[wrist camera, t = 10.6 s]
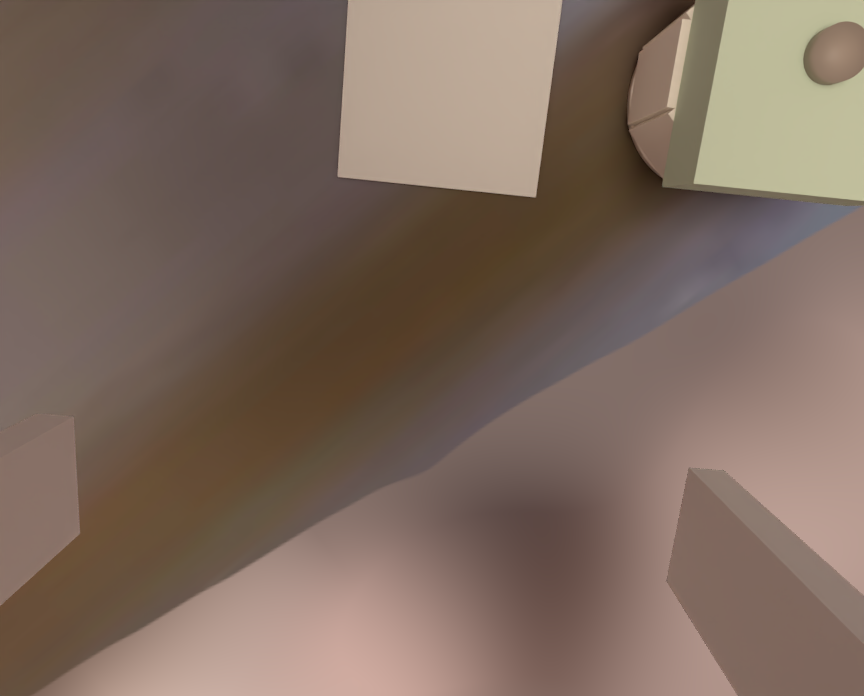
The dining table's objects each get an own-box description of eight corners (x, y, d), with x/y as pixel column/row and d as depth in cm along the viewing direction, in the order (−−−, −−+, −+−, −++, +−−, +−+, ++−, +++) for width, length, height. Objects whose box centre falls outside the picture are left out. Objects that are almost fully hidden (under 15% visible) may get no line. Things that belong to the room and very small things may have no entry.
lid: (707, -66, 29) (759, -120, 24) (907, -44, 29) (998, -93, 24) (661, 186, 32) (701, 182, 27) (845, 205, 32) (916, 204, 27)
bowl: (643, -3, 36) (696, -58, 29) (819, 16, 36) (916, -33, 29) (613, 181, 39) (654, 174, 31) (778, 198, 39) (857, 196, 32)
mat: (353, -63, 36) (352, -66, 35) (566, -40, 36) (568, -42, 35) (338, 177, 39) (337, 176, 38) (534, 197, 39) (535, 197, 39)
